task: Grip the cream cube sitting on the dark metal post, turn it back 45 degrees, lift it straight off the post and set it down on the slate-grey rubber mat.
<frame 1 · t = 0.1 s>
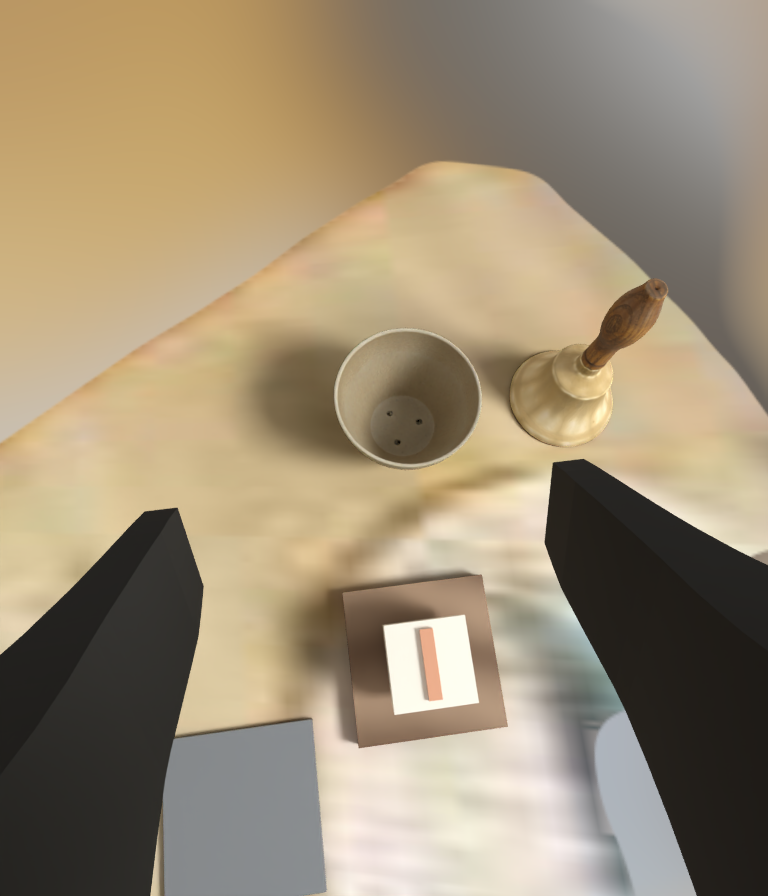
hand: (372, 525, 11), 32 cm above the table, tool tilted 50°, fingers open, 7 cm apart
post stand: (421, 656, 41), on the table
cream cube: (424, 658, 38), point 2 cm above the table, touching post stand
flower pot: (402, 429, 46), on the table
mat: (242, 812, 38), on the table
hand bell: (559, 399, 47), on the table
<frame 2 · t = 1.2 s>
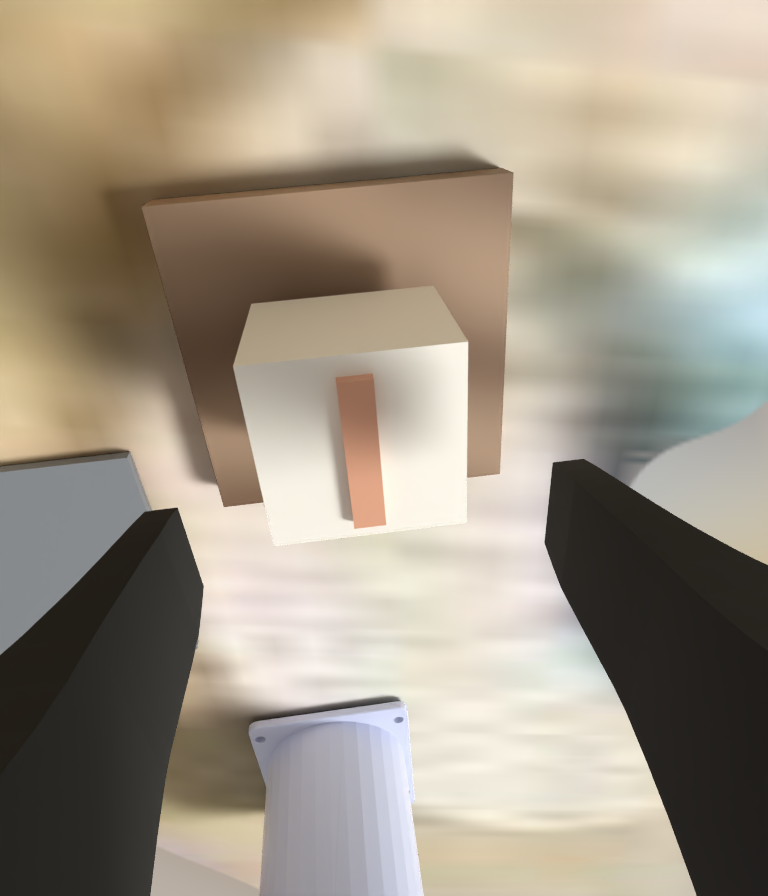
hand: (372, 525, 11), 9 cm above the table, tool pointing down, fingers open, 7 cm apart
post stand: (347, 347, 19), on the table
cream cube: (352, 377, 17), point 2 cm above the table, touching post stand
mat: (39, 573, 23), on the table
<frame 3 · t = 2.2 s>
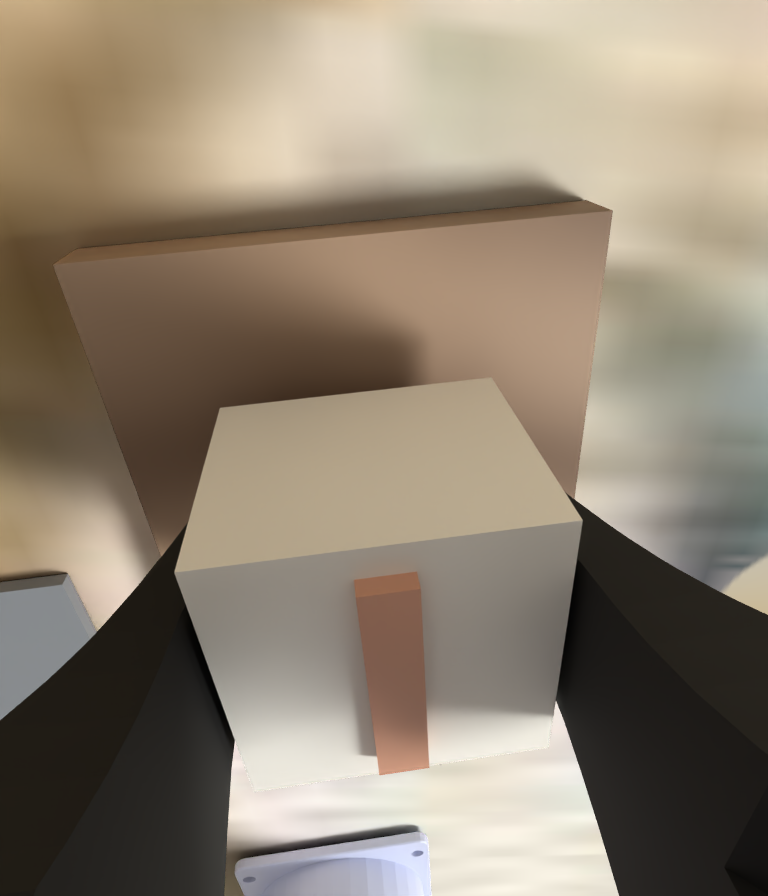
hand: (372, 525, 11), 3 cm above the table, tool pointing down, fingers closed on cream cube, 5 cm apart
post stand: (360, 441, 14), on the table
cream cube: (368, 500, 12), point 2 cm above the table, touching gripper, post stand
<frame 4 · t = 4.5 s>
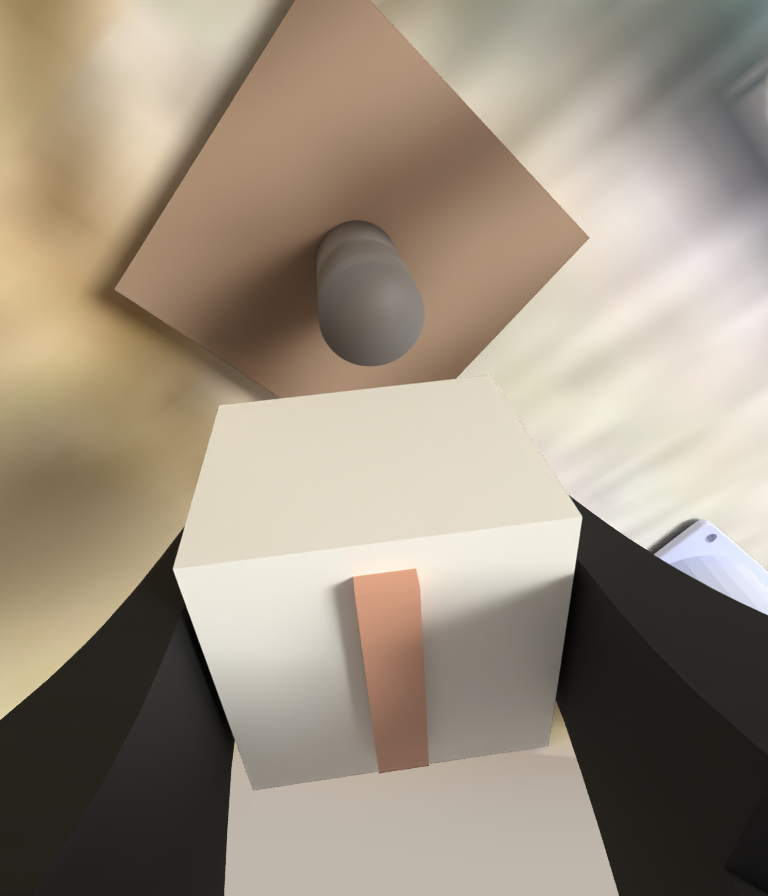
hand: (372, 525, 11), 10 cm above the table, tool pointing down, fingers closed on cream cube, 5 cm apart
post stand: (354, 253, 18), on the table
cream cube: (368, 498, 12), point 9 cm above the table, touching gripper
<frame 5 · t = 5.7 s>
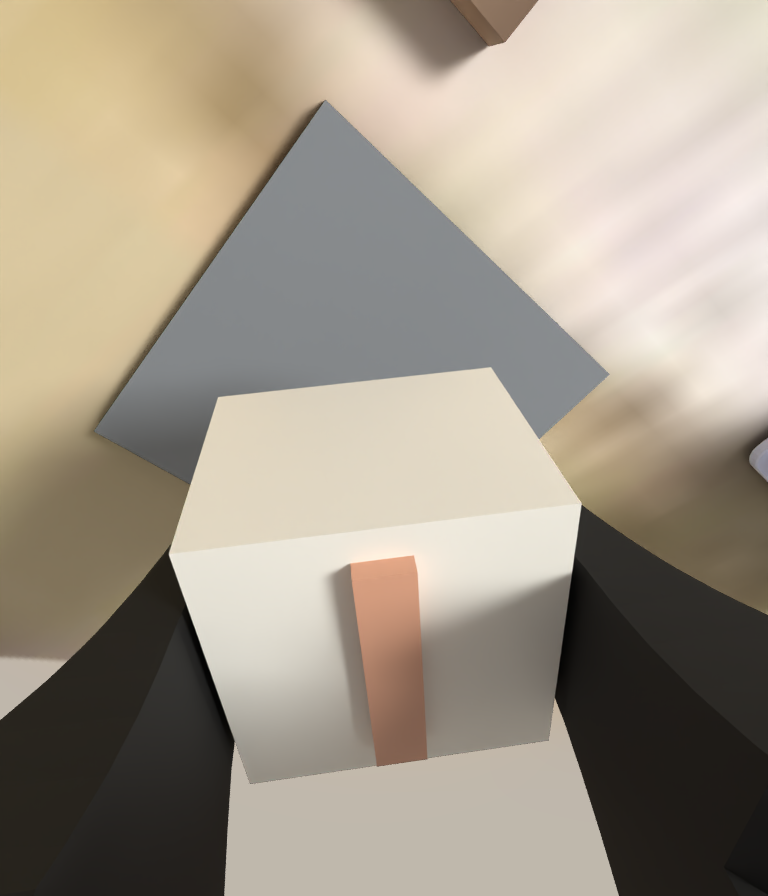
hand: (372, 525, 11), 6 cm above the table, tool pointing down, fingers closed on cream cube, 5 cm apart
cream cube: (367, 492, 12), point 5 cm above the table, touching gripper
mat: (356, 395, 16), on the table
when the fingers open (3 cm above the table, at t = 6.8 s): cream cube drops 1 cm, resting on mat.
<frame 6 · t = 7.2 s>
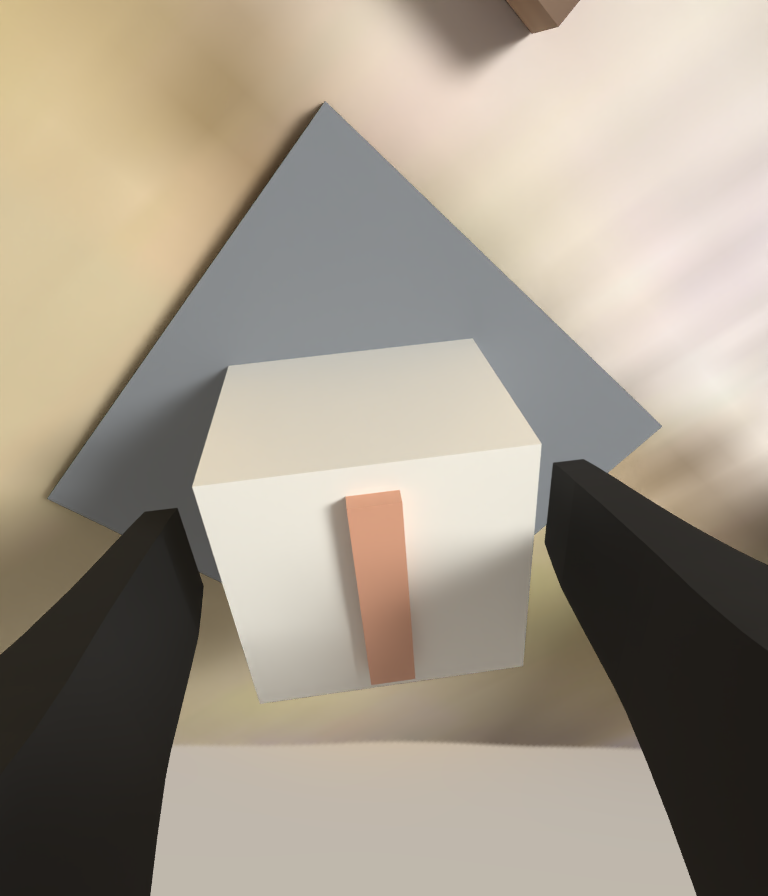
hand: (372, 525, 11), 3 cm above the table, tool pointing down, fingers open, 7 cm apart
cream cube: (363, 454, 13), resting on mat
mat: (362, 452, 13), on the table
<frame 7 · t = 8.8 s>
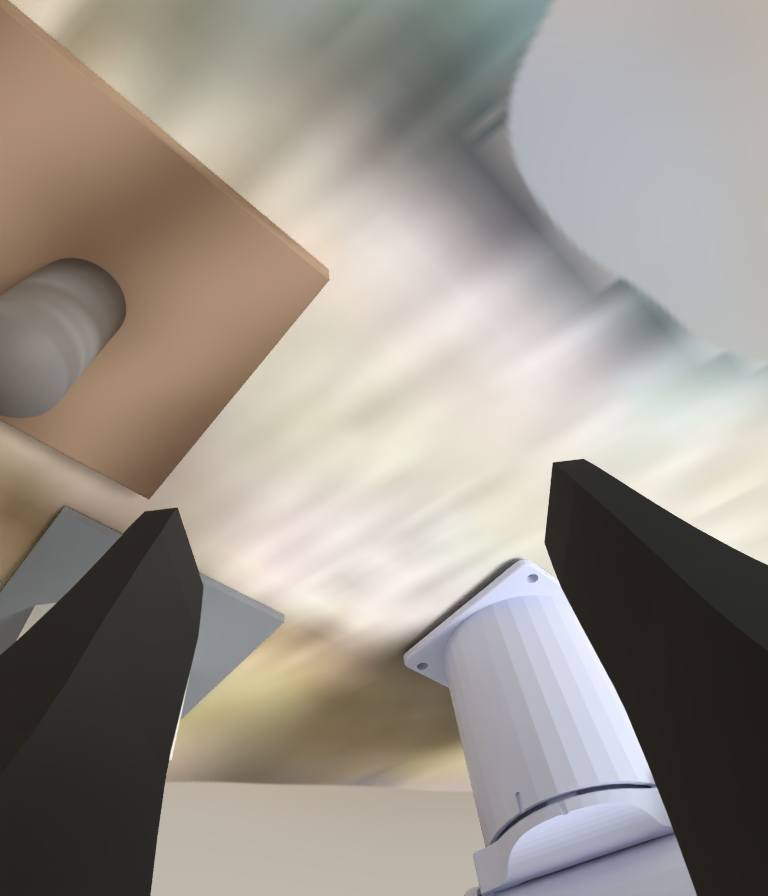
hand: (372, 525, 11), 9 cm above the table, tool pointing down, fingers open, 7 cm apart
post stand: (95, 288, 17), on the table
cream cube: (117, 639, 25), resting on mat
mat: (121, 634, 25), on the table
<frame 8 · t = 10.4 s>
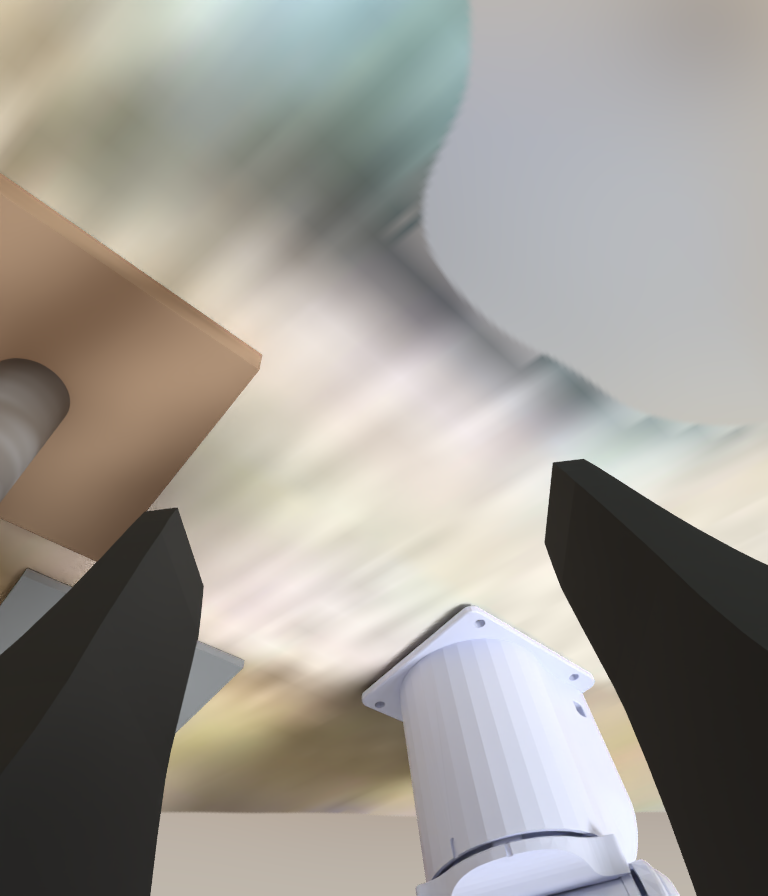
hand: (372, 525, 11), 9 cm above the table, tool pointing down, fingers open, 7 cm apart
post stand: (43, 378, 19), on the table
mat: (88, 681, 26), on the table
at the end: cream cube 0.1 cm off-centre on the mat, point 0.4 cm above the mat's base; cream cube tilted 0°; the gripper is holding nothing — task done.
